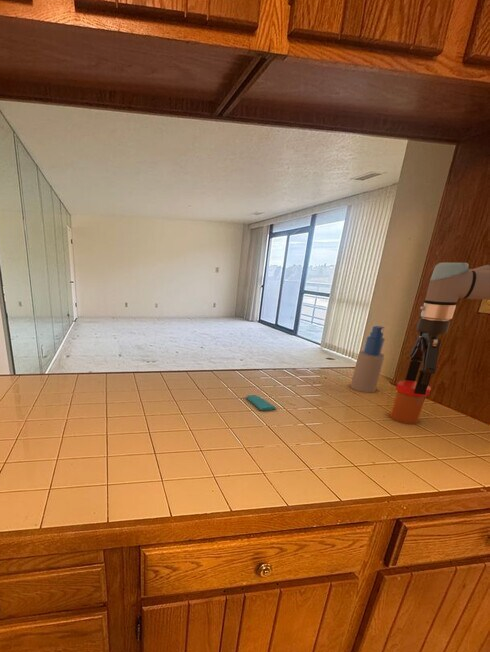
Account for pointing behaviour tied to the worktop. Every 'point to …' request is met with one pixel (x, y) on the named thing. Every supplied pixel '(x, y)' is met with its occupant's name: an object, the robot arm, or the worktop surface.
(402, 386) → the lid
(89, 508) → the worktop surface
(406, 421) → the jar
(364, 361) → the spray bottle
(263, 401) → the sponge
